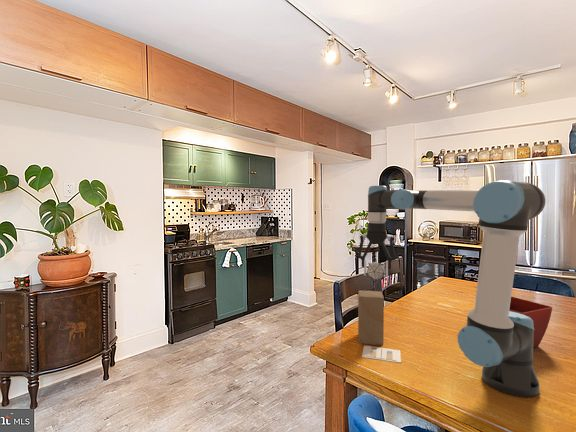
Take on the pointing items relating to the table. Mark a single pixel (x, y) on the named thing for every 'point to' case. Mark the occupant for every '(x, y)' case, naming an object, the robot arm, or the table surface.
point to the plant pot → (533, 316)
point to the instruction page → (382, 354)
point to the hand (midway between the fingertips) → (375, 275)
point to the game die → (375, 270)
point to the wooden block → (370, 317)
